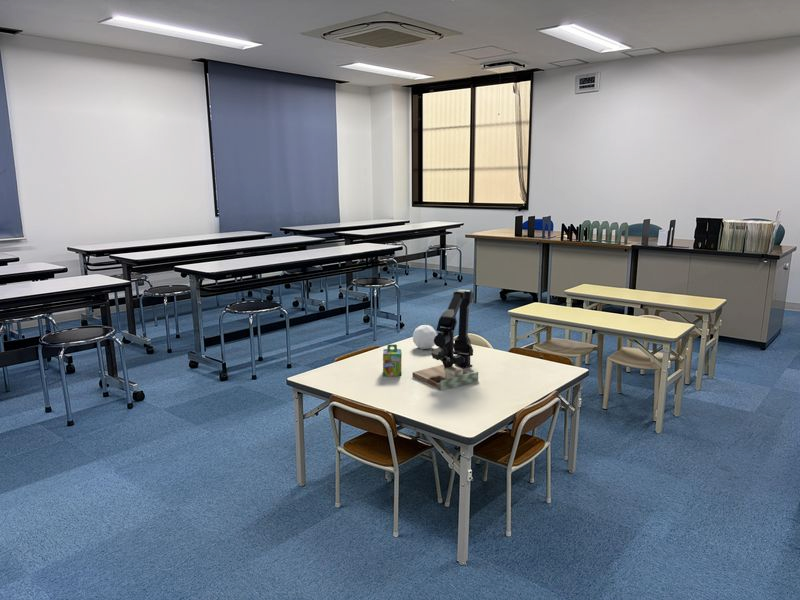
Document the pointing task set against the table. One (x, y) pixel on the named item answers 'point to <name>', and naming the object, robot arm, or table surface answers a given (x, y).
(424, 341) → the geodesic sphere
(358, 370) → the table surface
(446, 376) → the block
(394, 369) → the chalk box
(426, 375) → the board
